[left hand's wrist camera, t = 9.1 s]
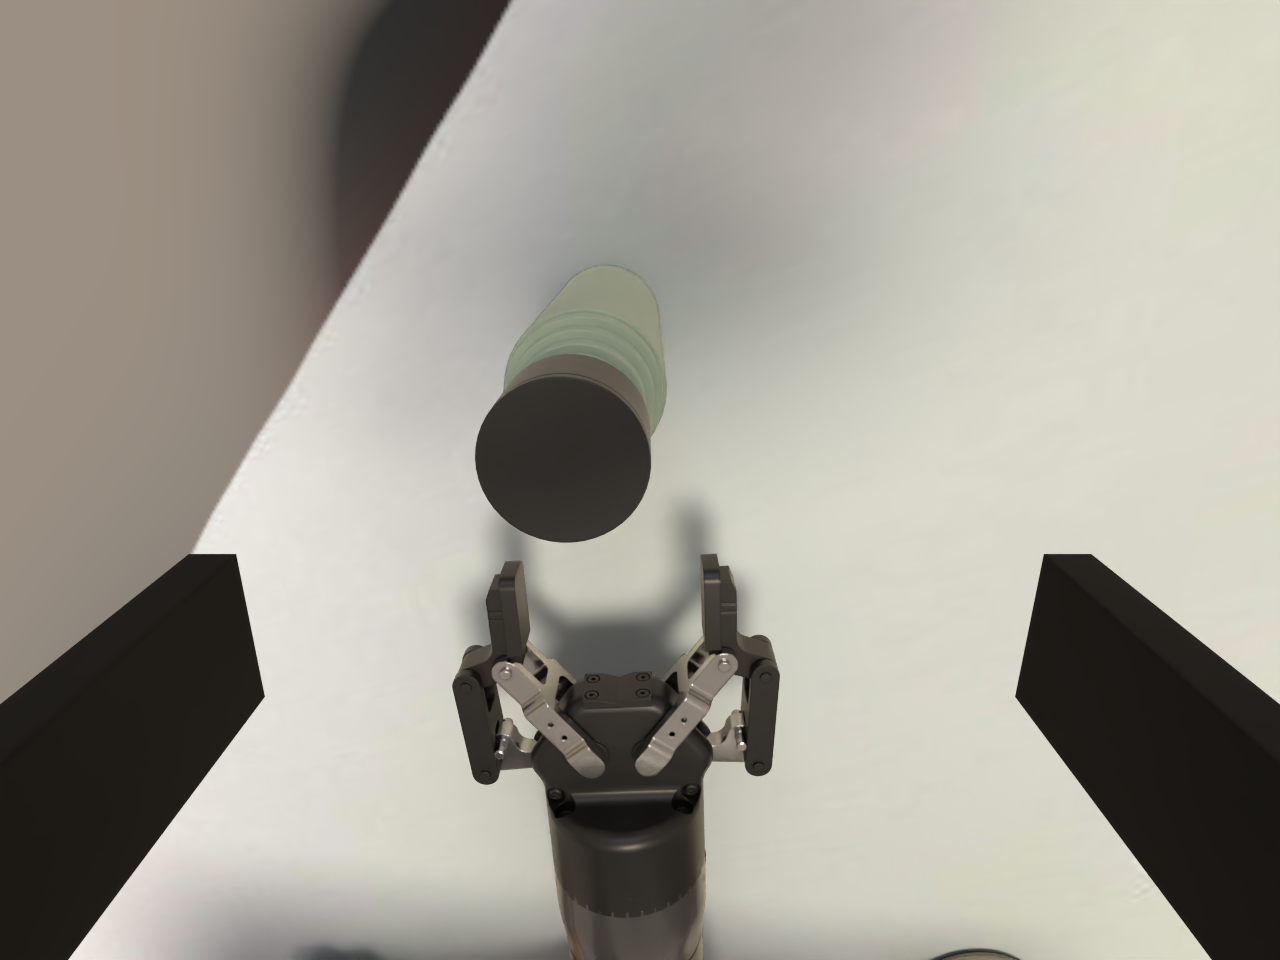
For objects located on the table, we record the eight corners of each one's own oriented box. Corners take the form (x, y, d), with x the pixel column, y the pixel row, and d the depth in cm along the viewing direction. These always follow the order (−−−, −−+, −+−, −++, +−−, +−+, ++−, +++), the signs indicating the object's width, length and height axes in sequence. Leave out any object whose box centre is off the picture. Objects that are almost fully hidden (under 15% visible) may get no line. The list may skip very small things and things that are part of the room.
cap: (561, 320, 18) (548, 338, 16) (681, 422, 19) (687, 454, 17) (464, 438, 19) (440, 472, 17) (584, 529, 20) (576, 574, 18)
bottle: (600, 242, 35) (546, 301, 16) (680, 313, 36) (718, 446, 17) (534, 324, 36) (412, 468, 17) (613, 390, 37) (580, 593, 18)
